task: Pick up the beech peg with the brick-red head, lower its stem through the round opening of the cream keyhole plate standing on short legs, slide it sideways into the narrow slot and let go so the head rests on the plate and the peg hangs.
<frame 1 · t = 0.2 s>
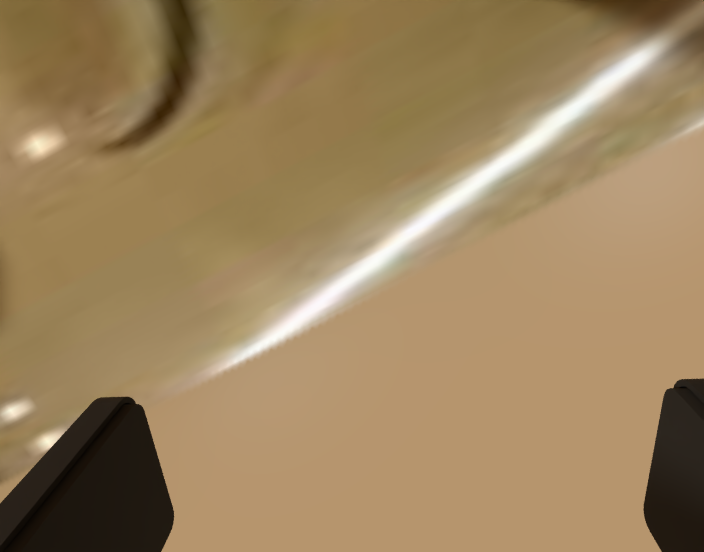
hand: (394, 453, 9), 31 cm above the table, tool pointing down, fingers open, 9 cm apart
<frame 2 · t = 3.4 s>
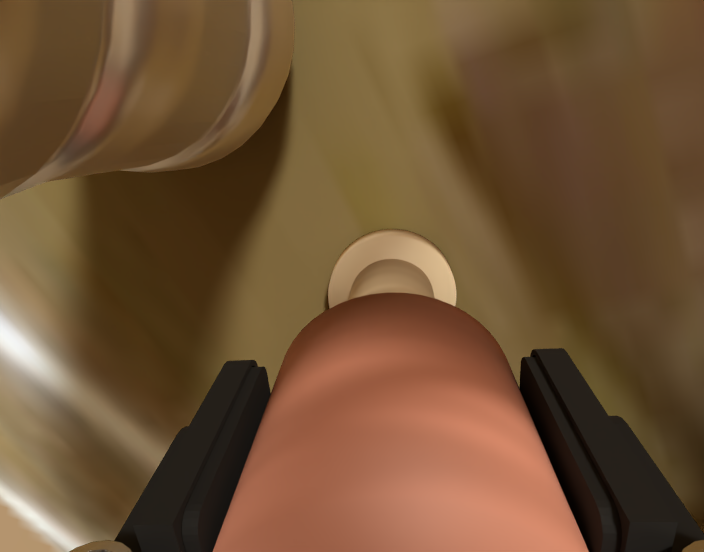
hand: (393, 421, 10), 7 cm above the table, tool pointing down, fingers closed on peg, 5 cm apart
plastic bottle: (197, 32, 14), on the table
peg: (391, 287, 16), on the table, touching gripper
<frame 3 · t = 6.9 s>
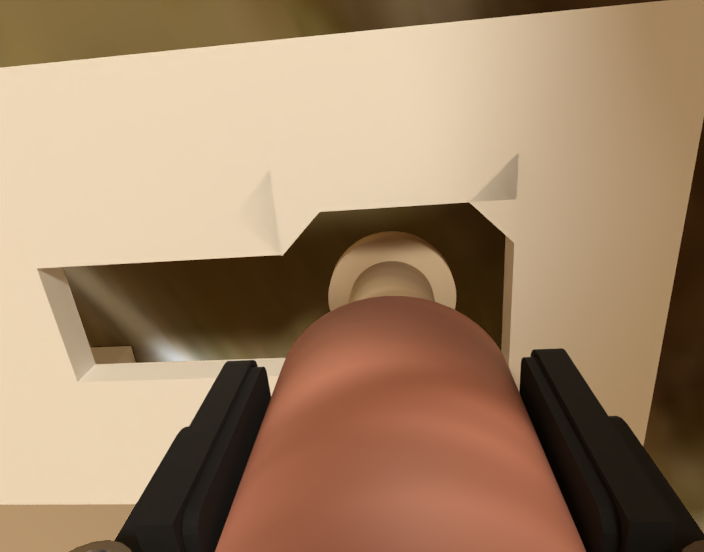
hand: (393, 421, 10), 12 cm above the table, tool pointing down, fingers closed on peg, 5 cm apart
keyhole plate: (301, 236, 21), on the table
peg: (391, 289, 16), point 5 cm above the table, touching gripper
when the fingers open (9 cm above the table, at t = 10.3 s): peg stays where it is, resting on keyhole plate.
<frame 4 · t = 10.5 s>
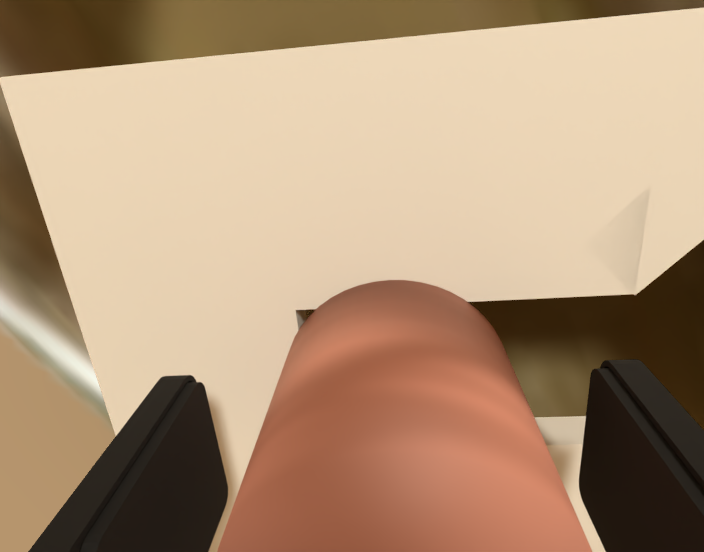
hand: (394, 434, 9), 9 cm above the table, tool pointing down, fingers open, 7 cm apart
keyhole plate: (501, 258, 18), on the table
peg: (392, 280, 17), point 1 cm above the table, touching keyhole plate
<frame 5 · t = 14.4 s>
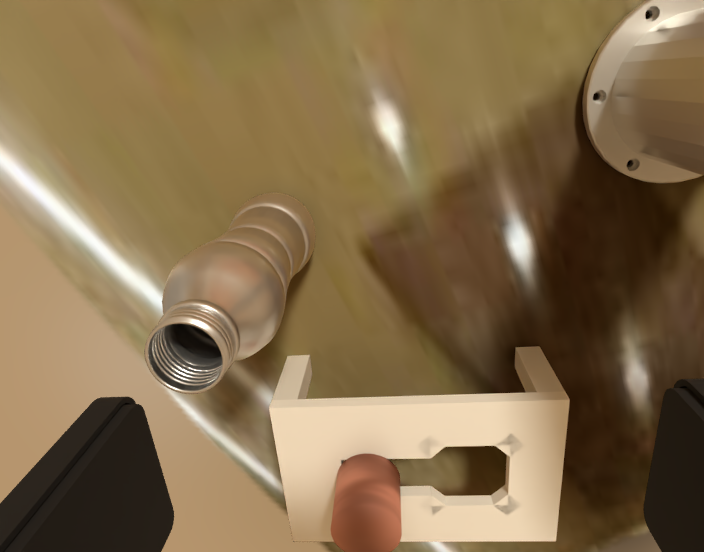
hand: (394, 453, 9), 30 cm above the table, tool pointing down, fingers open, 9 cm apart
keyhole plate: (413, 416, 45), on the table
plastic bottle: (280, 226, 39), on the table
peg: (370, 428, 44), point 1 cm above the table, touching keyhole plate
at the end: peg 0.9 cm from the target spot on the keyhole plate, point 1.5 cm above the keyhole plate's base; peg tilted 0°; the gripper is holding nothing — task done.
